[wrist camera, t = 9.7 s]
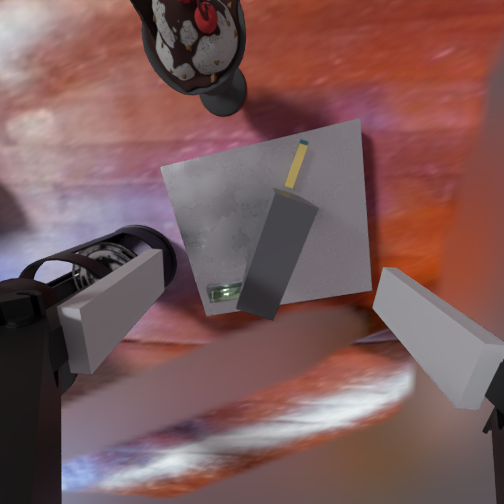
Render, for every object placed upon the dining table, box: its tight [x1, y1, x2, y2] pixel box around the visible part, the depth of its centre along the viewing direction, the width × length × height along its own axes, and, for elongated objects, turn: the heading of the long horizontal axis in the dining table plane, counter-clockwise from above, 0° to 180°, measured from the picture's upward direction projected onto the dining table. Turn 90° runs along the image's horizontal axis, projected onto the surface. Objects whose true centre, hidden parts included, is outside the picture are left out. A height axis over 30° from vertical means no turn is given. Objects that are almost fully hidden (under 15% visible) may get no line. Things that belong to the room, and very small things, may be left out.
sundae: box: [130, 0, 246, 116], centre depth 17 cm, size 7×7×15 cm
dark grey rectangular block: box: [236, 143, 319, 321], centre depth 20 cm, size 14×3×9 cm, turn 162°
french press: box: [0, 225, 177, 395], centre depth 20 cm, size 12×9×23 cm
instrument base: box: [160, 118, 372, 316], centre depth 26 cm, size 20×18×5 cm
